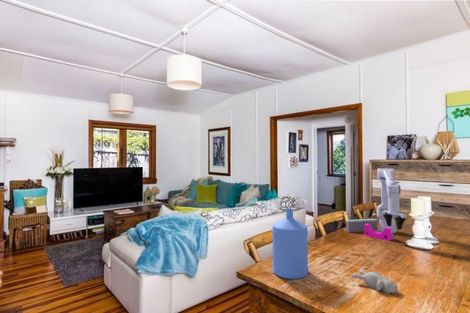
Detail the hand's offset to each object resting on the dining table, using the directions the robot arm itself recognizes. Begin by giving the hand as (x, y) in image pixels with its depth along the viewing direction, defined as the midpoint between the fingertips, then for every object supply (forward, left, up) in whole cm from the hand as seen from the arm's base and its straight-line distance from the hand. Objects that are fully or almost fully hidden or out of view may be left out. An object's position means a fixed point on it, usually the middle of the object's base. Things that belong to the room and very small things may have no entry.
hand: (394, 227), depth 159 cm
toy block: (0, -14, -10) cm, 17 cm away
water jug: (+75, +27, -10) cm, 80 cm away
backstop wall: (+1, -30, -9) cm, 32 cm away
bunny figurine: (+47, +45, -10) cm, 66 cm away
